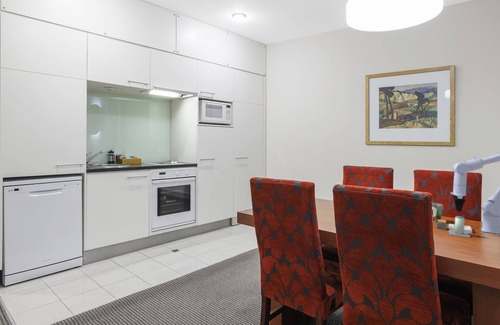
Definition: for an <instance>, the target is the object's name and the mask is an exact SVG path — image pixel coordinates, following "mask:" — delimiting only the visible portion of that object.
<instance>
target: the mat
mask: <svg viewBox="0 0 500 325" xmlns="http://www.w3.org/2000/svg"><path fill="white" fill-rule="evenodd" d="M447 231H448V236H455V237H462V238H463V237H464V238H471V235H470V233H467V232H464V234H456V233H454V231H451V230H449V229H447Z"/></svg>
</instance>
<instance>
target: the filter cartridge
mask: <svg viewBox="0 0 500 325" xmlns="http://www.w3.org/2000/svg"><path fill="white" fill-rule="evenodd" d="M465 219H466V218H465V216H460V215H456V216H455V217H454V224H455V229H454V233H456V234H464V226H465Z"/></svg>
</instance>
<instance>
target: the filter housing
mask: <svg viewBox="0 0 500 325" xmlns="http://www.w3.org/2000/svg"><path fill="white" fill-rule="evenodd" d="M447 226H448V227H447ZM447 228H448V229H447ZM436 229H437V230H442V231H448V230H451V231H454V229H455V223H454V224H453V223H448V224H447V222H446V224H439V223H438V222H437V223H436ZM464 232H467V233H469V234H472V233H473V230H472V227H471V226H470V225H464Z"/></svg>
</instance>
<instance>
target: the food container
mask: <svg viewBox="0 0 500 325" xmlns="http://www.w3.org/2000/svg"><path fill="white" fill-rule="evenodd" d="M431 203H432V210H433V221H432V222H433V223H436V224H437V222H438V220H442V213H443V210H444V209H445V208H444V206H443V204H441V203H436V202H431Z"/></svg>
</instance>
